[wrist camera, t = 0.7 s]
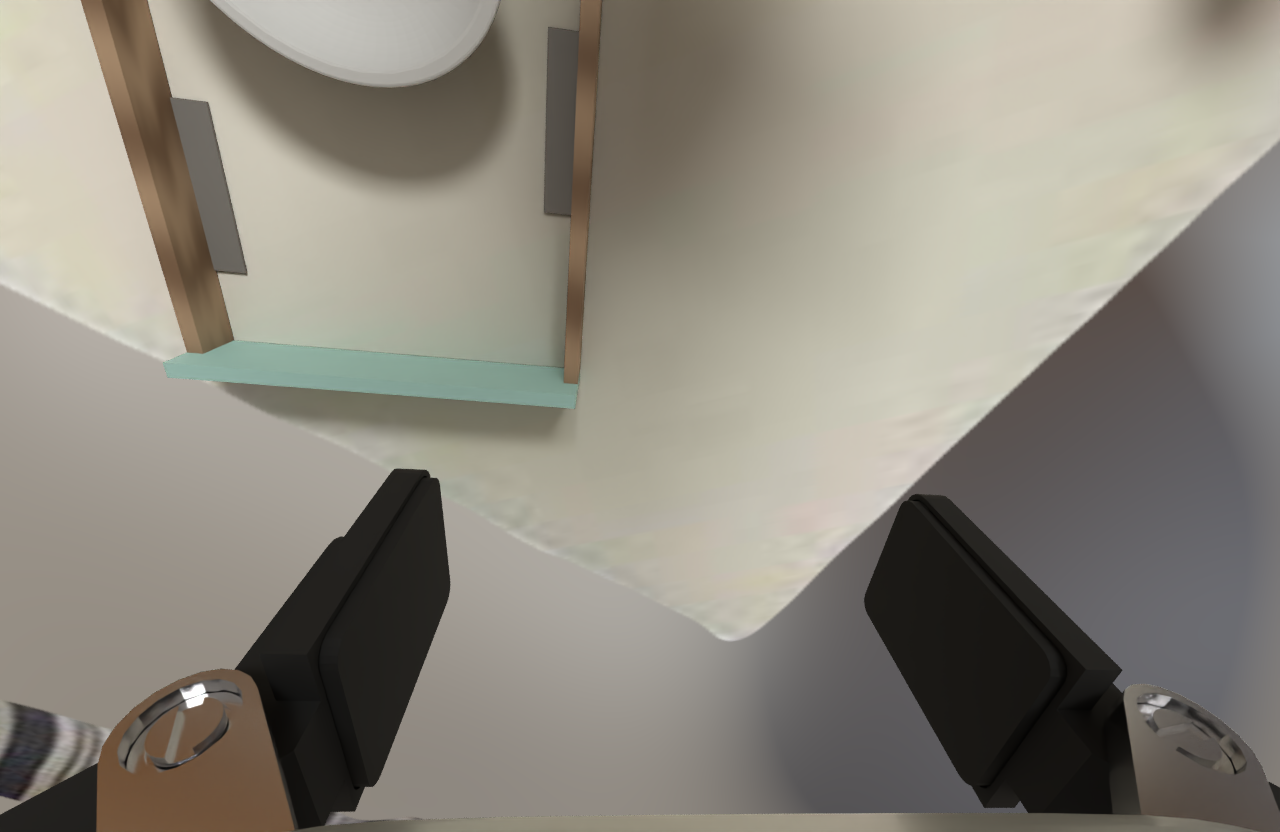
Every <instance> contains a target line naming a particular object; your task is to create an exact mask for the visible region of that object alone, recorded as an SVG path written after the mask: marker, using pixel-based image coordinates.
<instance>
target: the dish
mask: <svg viewBox="0 0 1280 832" xmlns="http://www.w3.org/2000/svg"><path fill="white" fill-rule="evenodd" d="M210 1H211V2H212V3H213V4H214V5H215V6H216V7H218V8H219V9H220V10H221V11H222V12H223V13H224V14H225V15H227V16H228V17H229V18H230V19H231V20H232V21H233V22H235V23H236V24H237V25H239V26H240V27H241V28H242V29H244V30H245V31H246V32H248V33H249V34H250V35H251V36H253V37H254V38H256V39H257V40H259V41H260V42H261V43H263V44H264V45H266V46H267V47H269V48H270V49H272V50H274V51H275V52H277V53H279V54H280V55H282V56H284V57H286V58H287V59H289V60H291V61H293V62H295V63H297V64H299V65H301V66H303V67H305V68H307V69H310V70H312V71H314V72H317V73H319V74H322V75H324V76H327V77H330V78H333V79H337V80H340V81H343V82H348V83H352V84H356V85H362V86H369V87H382V88H395V87H407V86H413V85H418V84H422V83H425V82H428V81H431V80H434V79H437V78H439V77H441V76H443V75H445V74H447V73H449V72H450V71H452V70H453V69H455V68H456V67H458V66H459V65H460V64H462V63H463V62H464V61H465V60H466V59H467V58H468V57H469V56H470V55H471V54H472V53H473V52H474V51H475V50H476V49H477V47H478V46H479V45H480V44H481V42H482V40H483V39H484V37H485V36H486V34H487V33H488V31H489V29H490V27H491V25H492V23H493V21H494V19H495V16H496V13H497V10H498V7H499V4H500V1H501V0H210Z"/></svg>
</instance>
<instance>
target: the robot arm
mask: <svg viewBox="0 0 1280 832" xmlns="http://www.w3.org/2000/svg"><path fill="white" fill-rule="evenodd" d="M449 592H450V575H449V565H448V556H447V547H446V538H445V528H444V520H443V510H442V500H441V491H440V483H439V480H438V479H437V478H430V474H429V472H428V471H427V470H416V469H394V470H393V471H392V472H391V473H390V475H389V476H388V478H387V479H386V480H385V482H384V483H383V484H382V486H381V487H380V488H379V490H378V491H377V493H376V494H375V495H374V497H373V498H372V499H371V501H370V502H369V503H368V505H367V506H366V508H365V509H364V510H363V512H362V513H361V514H360V516H359V517H358V519H357V520H356V521H355V523H354V524H353V525H352V527H351V528H350V529H349V531H348V532H347V534H346V535H345V536H344V537H339V538H336V539H334V540H333V541H332V542H331V543H330V544H329V545H328V547H327V548H326V549H325V551H324V552H323V553H322V555H321V556H320V557H319V559H318V560H317V561H316V562H315V564H314V565H313V567H312V568H311V569H310V570H309V572H308V573H307V575H306V576H305V577H304V579H303V580H302V581H301V582H300V584H299V585H298V586H297V588H296V589H295V590H294V592H293V593H292V594H291V596H290V597H289V598H288V599H287V601H286V602H285V604H284V605H283V606H282V608H281V609H280V610H279V611H278V613H277V614H276V615H275V617H274V618H273V619H272V621H271V622H270V623H269V625H268V626H267V627H266V629H265V630H264V631H263V633H262V634H261V635H260V637H259V638H258V639H257V641H256V642H255V643H254V644H253V646H252V647H251V649H250V650H249V651H248V652H247V654H246V655H245V656H244V658H243V659H242V661H241V662H240V663H239V664H238V666H237V667H236V668H235V670H232V669H215V670H209V671H203V672H199V673H196V674H193V675H190V676H187V677H185V678H182V679H179V680H177V681H175V682H173V683H171V684H169V685H167V686H166V687H164V688H162V689H160V690H158V691H156V692H155V693H153V694H152V695H150V696H149V697H148V698H146V699H145V700H144V701H142V702H141V703H139V704H138V705H137V706H136V707H134V708H133V709H132V710H131V711H130V712H129V713H128V714H127V715H126V716H125V717H124V718H123V719H122V720H121V721H120V722H119V723H118V724H117V725H116V726H115V727H114V729H113V730H112V732H111V733H110V735H109V737H108V738H107V740H106V741H105V743H104V744H103V746H102V749H101V753H100V757H99V761H98V763H97V764H95V765H93V766H91V767H89V768H87V769H85V770H83V771H82V772H80V773H78V774H76V775H74V776H72V777H70V778H68V779H67V780H65V781H63V782H61V783H59V784H57V785H55V786H53V787H52V788H50V789H48V790H46V791H44V792H42V793H40V794H38V795H36V796H35V797H33V798H31V799H29V800H27V801H25V802H23V803H21V804H20V805H18V806H16V807H14V808H12V809H10V810H8V811H6V812H4V813H3V814H1V815H0V832H1280V788H1279V787H1278V786H1276V785H1274V784H1272V783H1270V782H1268V780H1267V778H1266V775H1265V773H1264V770H1263V768H1262V765H1261V764H1260V762H1259V760H1258V759H1257V757H1256V755H1255V753H1254V752H1253V750H1252V749H1251V748H1250V747H1249V746H1248V745H1247V744H1246V743H1245V742H1244V741H1243V739H1242V738H1241V737H1240V736H1239V735H1238V734H1237V733H1236V732H1235V731H1233V730H1232V729H1231V728H1230V727H1229V726H1227V725H1226V724H1225V723H1224V722H1223V721H1222V720H1220V719H1219V718H1218V717H1216V716H1215V715H1213V714H1212V713H1210V712H1209V711H1207V710H1206V709H1204V708H1203V707H1201V706H1200V705H1198V704H1196V703H1194V702H1192V701H1191V700H1189V699H1187V698H1185V697H1183V696H1181V695H1179V694H1177V693H1174V692H1172V691H1169V690H1166V689H1164V688H1161V687H1157V686H1152V685H1148V684H1134V685H1131V686H1129V687H1128V688H1127V689H1125V690H1124V691H1123V693H1121V692H1120V690H1119V689H1118V688H1117V687H1116V686H1115V685H1114V684H1113V682H1114V680H1115V679H1116V678H1117V677H1118V675H1119V674H1120V673H1121V671H1122V669H1121V668H1120V667H1119V666H1118V665H1117V664H1116V663H1115V662H1114V661H1113V660H1112V659H1111V658H1110V657H1109V656H1108V655H1107V654H1105V652H1104V651H1102V649H1101V648H1100V647H1098V645H1097V644H1095V642H1093V641H1092V640H1091V639H1090V638H1089V637H1088V636H1087V635H1086V634H1085V633H1084V632H1083V631H1082V630H1081V629H1080V628H1079V627H1078V626H1077V625H1076V624H1075V623H1074V622H1073V621H1072V620H1071V619H1070V618H1069V617H1068V616H1067V615H1066V614H1065V613H1064V612H1063V611H1062V610H1061V609H1060V608H1059V607H1058V606H1057V605H1056V604H1055V603H1054V602H1053V601H1052V600H1051V599H1050V598H1049V597H1048V596H1047V595H1046V594H1045V593H1044V592H1043V591H1042V590H1041V589H1040V588H1039V587H1038V586H1037V585H1036V584H1035V583H1034V582H1033V581H1032V580H1031V579H1030V578H1029V577H1028V576H1026V574H1025V573H1024V572H1023V571H1022V570H1021V569H1020V568H1018V567H1017V565H1016V564H1014V563H1013V562H1012V561H1011V560H1010V559H1009V558H1008V557H1007V556H1006V555H1005V554H1004V553H1003V552H1002V551H1001V550H1000V549H999V548H998V547H997V546H996V545H995V544H994V543H993V542H992V541H991V540H990V539H989V538H988V537H987V536H986V535H985V534H984V533H983V532H982V531H981V530H980V529H979V528H978V527H977V526H976V525H975V524H974V523H973V522H972V521H971V520H970V519H969V518H968V517H967V516H966V515H965V514H964V513H963V512H962V511H961V510H960V509H959V508H958V507H957V506H956V505H954V503H953V502H952V501H951V500H950V499H948V498H947V497H946V496H941V495H924V494H915V495H912V496H911V497H910V498H909V500H908V501H904V502H903V503H902V504H901V506H900V508H899V511H898V513H897V516H896V518H895V521H894V523H893V526H892V528H891V531H890V533H889V536H888V538H887V541H886V543H885V546H884V549H883V551H882V553H881V556H880V558H879V561H878V564H877V566H876V569H875V571H874V574H873V576H872V578H871V581H870V583H869V586H868V588H867V591H866V594H865V598H864V602H865V608H866V612H867V614H868V616H869V617H870V619H871V621H872V623H873V625H874V626H875V628H876V630H877V632H878V633H879V635H880V637H881V638H882V640H883V642H884V644H885V646H886V647H887V649H888V651H889V653H890V654H891V656H892V658H893V660H894V661H895V663H896V665H897V667H898V668H899V670H900V672H901V674H902V676H903V677H904V679H905V681H906V683H907V684H908V686H909V688H910V690H911V691H912V693H913V695H914V697H915V698H916V700H917V702H918V704H919V705H920V707H921V709H922V711H923V712H924V714H925V716H926V718H927V720H928V721H929V723H930V725H931V727H932V728H933V730H934V732H935V733H936V735H937V737H938V739H939V741H940V742H941V744H942V746H943V747H944V749H945V751H946V753H947V755H948V756H949V758H950V760H951V762H952V763H953V765H954V767H955V768H956V771H957V772H958V774H959V775H960V777H961V778H962V779H963V780H964V781H965V782H966V783H967V784H969V785H971V786H972V787H973V789H974V791H975V792H976V794H977V796H978V798H979V800H980V801H981V803H982V804H983V807H984V808H1014V807H1015V806H1016V805H1017V804H1018V802H1019V801H1021V802H1022V804H1023V806H1024V807H1025V809H1026V810H1027V812H1028V813H870V814H869V813H864V814H862V813H860V814H858V813H856V814H714V815H712V814H710V815H628V816H627V815H623V816H550V817H549V816H541V817H493V818H492V817H489V818H458V819H426V820H394V821H376V822H364V823H353V824H341V825H329V826H324V825H325V823H326V820H327V818H328V816H329V814H330V812H346V811H349V812H350V811H355V810H356V807H357V805H358V803H359V800H360V797H361V795H362V793H363V790H364V788H365V787H373V786H374V785H375V784H376V783H377V781H378V780H379V777H380V775H381V773H382V770H383V768H384V765H385V762H386V760H387V757H388V754H389V752H390V749H391V747H392V744H393V742H394V739H395V736H396V734H397V731H398V729H399V726H400V723H401V721H402V718H403V715H404V713H405V710H406V708H407V705H408V703H409V700H410V697H411V695H412V692H413V690H414V687H415V684H416V682H417V679H418V677H419V674H420V671H421V669H422V666H423V664H424V661H425V658H426V656H427V653H428V650H429V648H430V645H431V643H432V640H433V638H434V635H435V632H436V630H437V627H438V625H439V622H440V619H441V617H442V614H443V611H444V609H445V606H446V604H447V600H448V597H449Z"/></svg>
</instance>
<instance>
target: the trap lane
mask: <svg viewBox="0 0 1280 832" xmlns="http://www.w3.org/2000/svg"><path fill="white" fill-rule="evenodd" d="M81 2H82V6H83V9H84V12H85V16H86V19H87V22H88V26H89V29H90V32H91V36H92V39H93V42H94V46H95V49H96V52H97V55H98V59H99V62H100V65H101V69H102V72H103V75H104V79H105V82H106V85H107V89H108V92H109V95H110V99H111V102H112V105H113V108H114V112H115V115H116V118H117V122H118V125H119V128H120V132H121V135H122V138H123V142H124V145H125V148H126V151H127V155H128V158H129V161H130V165H131V168H132V171H133V175H134V178H135V181H136V185H137V188H138V191H139V195H140V198H141V201H142V204H143V208H144V211H145V214H146V218H147V221H148V224H149V228H150V231H151V234H152V238H153V241H154V244H155V248H156V251H157V254H158V257H159V261H160V264H161V267H162V271H163V274H164V277H165V281H166V284H167V287H168V291H169V294H170V297H171V300H172V304H173V307H174V310H175V314H176V317H177V320H178V324H179V327H180V330H181V334H182V337H183V340H184V344H185V347H186V350H187V353H185V354H183V355H180V356H178V357H175V358H173V359H171V360H168V361H166V362H163V365H164V368H165V371H166V374H167V377H168V378H182V379H194V380H207V381H220V382H233V383H246V384H259V385H272V386H285V387H298V388H311V389H324V390H338V391H351V392H364V393H377V394H390V395H403V396H416V397H429V398H442V399H455V400H468V401H481V402H494V403H507V404H520V405H533V406H546V407H559V408H572V409H575V406H576V399H577V393H578V387H579V380H580V363H581V346H582V329H583V313H584V296H585V279H586V262H587V245H588V229H589V212H590V195H591V178H592V162H593V145H594V128H595V111H596V95H597V78H598V61H599V44H600V28H601V11H602V0H581V5H580V28H579V31H572V30H565V29H559V28H552V27H548V59H547V103H546V147H545V191H544V212H547V213H556V214H565V215H571V229H570V251H569V273H568V295H567V318H566V340H565V362H564V368H557V367H545V366H533V365H521V364H509V363H497V362H485V361H473V360H461V359H450V358H438V357H426V356H414V355H402V354H390V353H378V352H366V351H354V350H342V349H331V348H319V347H307V346H295V345H283V344H271V343H259V342H247V341H235V340H234V338H233V334H232V331H231V327H230V323H229V319H228V315H227V311H226V307H225V303H224V299H223V295H222V291H221V288H220V284H219V280H218V276H217V272H216V270H217V271H227V272H238V273H247V270H246V265H245V261H244V257H243V252H242V248H241V244H240V239H239V235H238V231H237V226H236V222H235V218H234V213H233V209H232V205H231V200H230V196H229V191H228V187H227V183H226V178H225V174H224V170H223V165H222V161H221V157H220V152H219V148H218V144H217V139H216V135H215V131H214V126H213V122H212V118H211V113H210V109H209V105H208V102H203V101H195V100H187V99H179V98H172V96H171V92H170V88H169V85H168V81H167V77H166V73H165V69H164V65H163V61H162V57H161V53H160V49H159V46H158V42H157V38H156V34H155V30H154V26H153V22H152V18H151V14H150V10H149V7H148V3H147V0H81Z"/></svg>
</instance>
